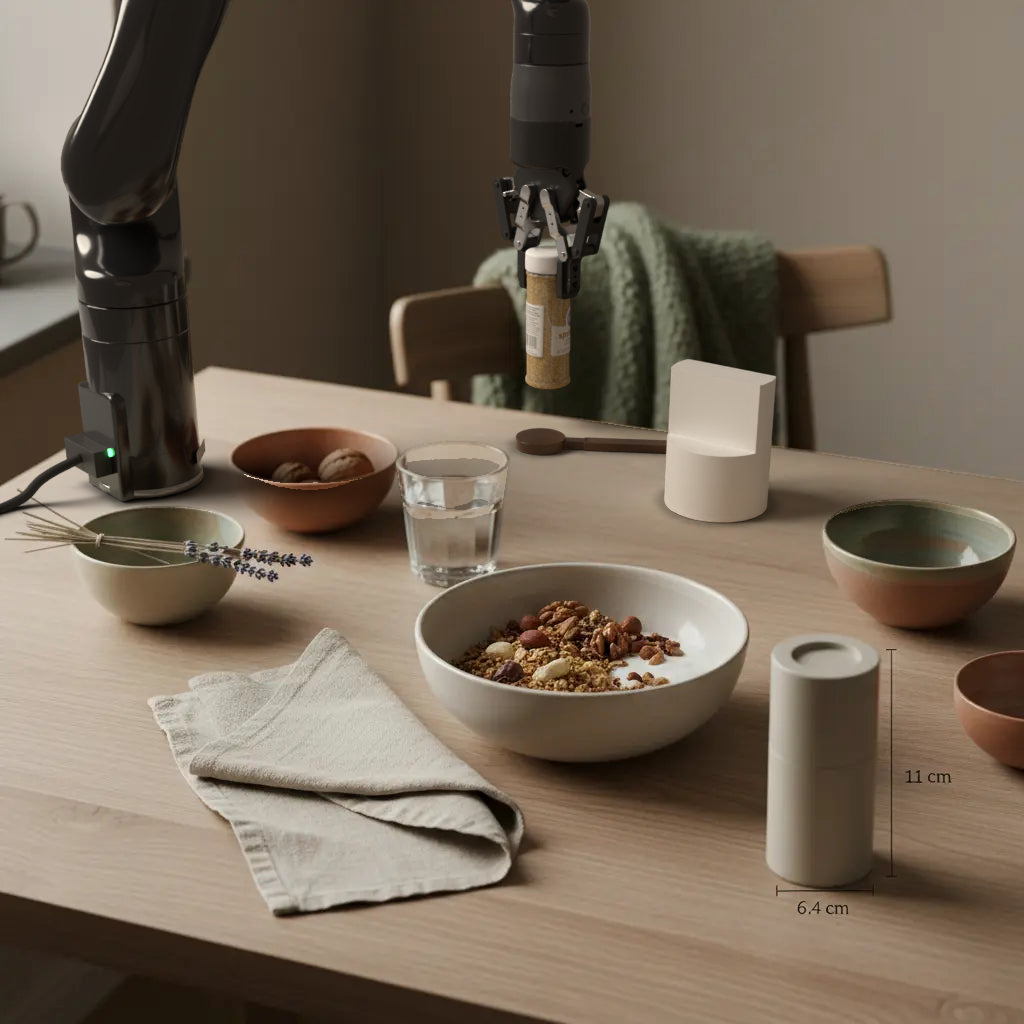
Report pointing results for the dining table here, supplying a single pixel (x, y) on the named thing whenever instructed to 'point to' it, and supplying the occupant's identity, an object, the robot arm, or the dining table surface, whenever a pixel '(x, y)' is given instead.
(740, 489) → the base with upright slab
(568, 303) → the spice jar
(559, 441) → the spoon
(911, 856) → the dining table surface
